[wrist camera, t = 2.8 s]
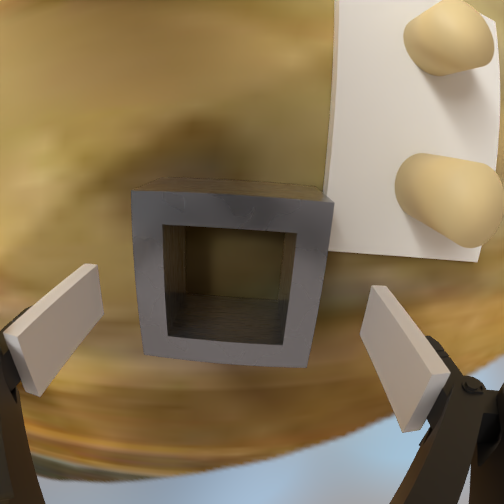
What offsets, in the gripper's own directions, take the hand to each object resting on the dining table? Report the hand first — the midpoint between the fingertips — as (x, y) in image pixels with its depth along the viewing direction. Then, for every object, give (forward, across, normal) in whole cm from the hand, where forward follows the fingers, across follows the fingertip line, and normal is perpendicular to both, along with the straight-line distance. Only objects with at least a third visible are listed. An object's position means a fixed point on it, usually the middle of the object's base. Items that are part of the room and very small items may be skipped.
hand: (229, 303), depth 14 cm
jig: (+6, +11, +10) cm, 16 cm away
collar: (+6, 0, 0) cm, 6 cm away
